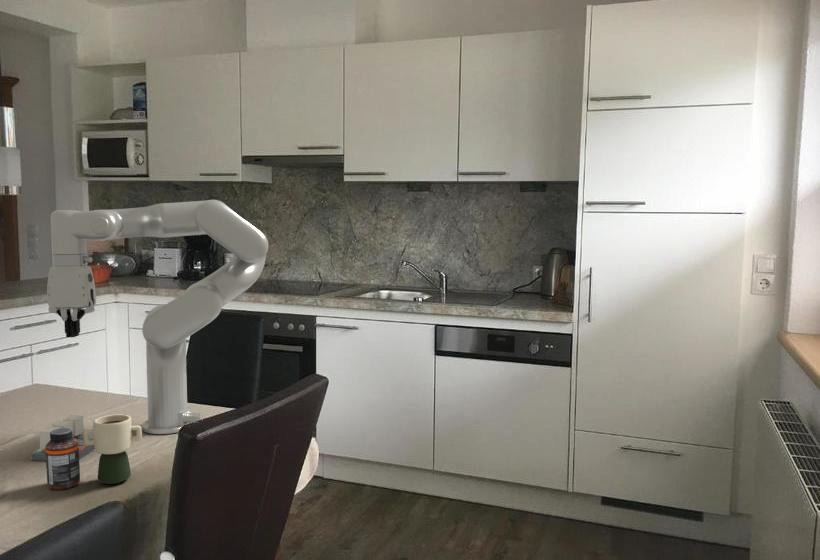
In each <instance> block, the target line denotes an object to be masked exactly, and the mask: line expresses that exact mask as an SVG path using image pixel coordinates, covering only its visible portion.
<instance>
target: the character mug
mask: <svg viewBox="0 0 820 560" xmlns="http://www.w3.org/2000/svg"><path fill="white" fill-rule="evenodd" d="M92 422H93V423H92V424H93V428H91V429H90V428H89V429H84V433H83V436H84V445H87V446H88V445H94V447H95V449H94V451H95V452H96V453H97V454H100V456H99V459H98V470H97V480H98V482H100V483H101V484H108V485H113V484H118V483H120V482H121V483H122V482H124V481H127V479H129V478H130V477H131V476H132V474H131V473H132V472H131V466H130V461H129V455H128V453H127V451H128V450H129V449H131V447H132V445H133V442H140V441H141V440H142V439H143V438H142V437H143V436H142V435H143V433H142V432H143V430H142V425H132V417H131V415H127V414H121V413H119V414H118V413H116V414H114V413H113V414H108V415H102V416H100V417H97V418H95V419H94V420H93V421H92ZM132 431H136V436H133V432H132ZM89 434H94V440H92V441H89Z"/></svg>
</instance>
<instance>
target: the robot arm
mask: <svg viewBox="0 0 820 560" xmlns="http://www.w3.org/2000/svg"><path fill="white" fill-rule="evenodd" d="M50 234H51V235H50V236H51V259H52V261H51V262H52V264H51V265H52V266H51V267H50V268H49V271H48V277H47V284H46V285H47V289H46V297H47V298H46V300H47V305H48V312H49V313H53V314H57V315H58V316H59V317H60V318H61V320H62V321H63V322H64V334H65V338H75V337H79V335H80V333H81V320H82V318H83V317H84V316H85V315H87V314H90V313H91V314H92V313H94V312H95V310H96V308H95V305H96V304H97V293H96V284H95V279H94V277H95V276H94V273H93V271H92V267H91V266H88V264H89V263H92V262H93V257H92V256H88V253H87V240H90V241H99V242H104V241H109V240H116V239H126V238H127V239H128V238H142V237H147V238H148V237H150V238H151V237H152V238H174V237H187V236H201V235H207V236H209V237H210V238H211V239H213V240H214V241H215V242H216V243H218V244H219V245H221V246H222V247H223V248H225V249H226V250H228V251H229V252H230V253H232V257H231V258H230V260H229V261H228V262H227V263H225V264H223V265H222V266H221V267H220V268H218V269H216V270H215V271H214V272H212V273H211V274H209V275H207V276H206V277H204V278H202V279H201V280H199V281H196V282H195V283H193V284H191V285H190V286H189V287H188V288H187V289H186V290H185V292H183V293H182V294H180V295H178V296H177V297H175V298H173V299H172V300H170V301H169V302H167V303H163V304H159V305H156V306H155V307H152V309H150V311H148V313H147V315H146V316H145V318H144V321H143V323H142V336H143V339H144V341H145V342H146V343H145V344H146V345H145V346H146V347H145V350H146V352H145V353H146V356H145V357H146V388H147V389H146V390H147V391H146V393H147V420H145V421H144V422H143V423H142V424H141V428H142V432H144V433H148V434H153V435H169V434H175V433H176V434H177V433H179V432H178V430H179V429H180V428H181V427H182V426H183V425H185V424H187V423H191V422H194V421H197V420H200V419H202V420H203V415H202V413H201V412H193V411H192V407H191V406H188V388H187V387H188V386H187V385H188V381H187V339H188V338H189V337H190V336H192V335H193V334H195V333H197V332H198V331H200V330H202V329H203V328H204V327H205V326H208V325H209V324H210V323H212V322H213V321H214V320H216V318H217V317H218V316H219V315H220V313H221V311H222V309H223V307H225V305H227V304H229V303H230V302H231V301H233V300H234V299H236V298H237V297H238V296H240V295H242V293H244V292H246V291H247V290H248V289H250V288H251V287H252V286H253V285H254V284H255V283H256V281H258V279H259V278H260V276H261V274H262V272H263V269H264V268H265V263H266V260H267V259H266V257H267V256H266V255H267V254H268V251H269V241H268V239H267V236H266V235H265V234H264V233H263V232H262V231H261V230H260V229H258V228H257V227H255V226H254V225H252V224H251V223H250V222H249V221H247V220H246V219H244V218H243V217H242V216H240V215H239V214H237V212H235V211H234V210H233V209H232V208H230V207H229V206H228V205H227V204H225V202H222V201H221V200H218V199H207V200H197V201H195V200H194V201H180V202H168V203H167V202H165V203H164V202H162V203H157V204H152V205H148V206H141V207H131V208H114V209H94V210H85V211H80V210H74V209H70V210H69V209H65V210H64V209H62V210H61V209H59V210H58V209H57V210H54V211H52V212H51V214H50ZM194 423H195V422H194Z"/></svg>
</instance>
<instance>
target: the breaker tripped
mask: <svg viewBox="0 0 820 560" xmlns="http://www.w3.org/2000/svg"><path fill="white" fill-rule="evenodd" d="M59 428H61V427H52V426H47V427H45V428H44V429H41V430H39V431H38V432H39V444H40V445H39V449H45V446H46V444H47V443H48V442H49V441H50V432H51V431H52V430H55V429H59Z"/></svg>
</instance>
